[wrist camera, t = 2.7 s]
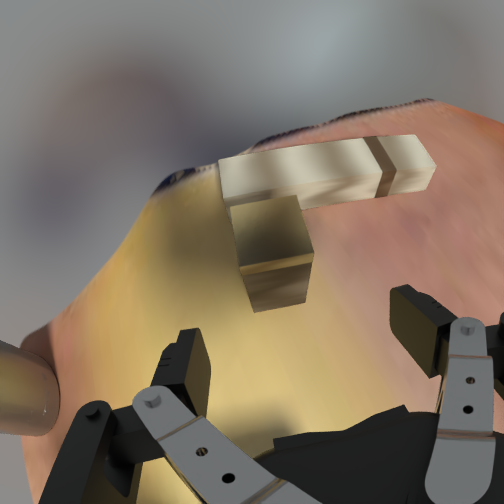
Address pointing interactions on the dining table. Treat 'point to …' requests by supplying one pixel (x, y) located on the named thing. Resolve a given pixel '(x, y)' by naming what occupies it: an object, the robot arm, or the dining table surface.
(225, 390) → the dining table surface
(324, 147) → the board
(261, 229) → the brown rectangular block
